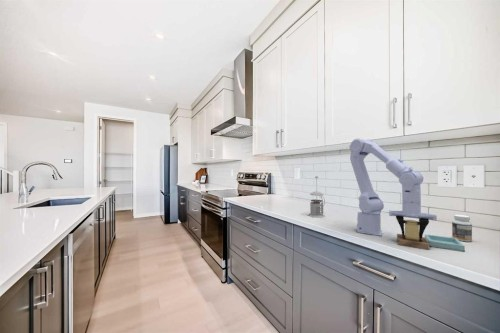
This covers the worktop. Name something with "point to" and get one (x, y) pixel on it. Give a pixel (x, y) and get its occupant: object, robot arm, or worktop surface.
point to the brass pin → (412, 230)
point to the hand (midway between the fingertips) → (411, 236)
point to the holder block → (413, 242)
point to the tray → (444, 242)
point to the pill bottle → (462, 228)
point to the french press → (316, 205)
